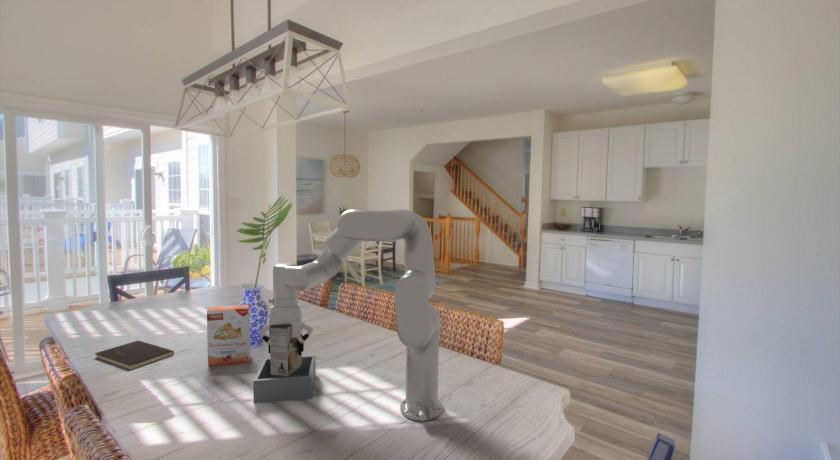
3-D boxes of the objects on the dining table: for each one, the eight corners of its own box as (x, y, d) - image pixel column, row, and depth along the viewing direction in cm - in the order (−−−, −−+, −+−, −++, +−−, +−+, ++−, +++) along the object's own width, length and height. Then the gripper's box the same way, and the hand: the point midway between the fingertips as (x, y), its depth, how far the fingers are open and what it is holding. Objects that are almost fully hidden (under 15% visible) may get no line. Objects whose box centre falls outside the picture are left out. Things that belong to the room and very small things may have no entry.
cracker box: (207, 366, 147) (205, 310, 145) (211, 360, 153) (209, 306, 151) (249, 362, 151) (247, 308, 149) (251, 356, 157) (249, 303, 155)
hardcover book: (129, 371, 143) (129, 365, 143) (95, 359, 154) (94, 353, 154) (174, 355, 158) (174, 349, 158) (139, 345, 168) (139, 339, 168)
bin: (311, 398, 125) (311, 377, 124) (253, 403, 122) (253, 380, 121) (315, 374, 142) (315, 355, 141) (264, 378, 138) (264, 358, 138)
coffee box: (284, 363, 136) (284, 316, 135) (302, 365, 135) (302, 318, 134) (269, 375, 127) (269, 325, 126) (288, 377, 126) (287, 327, 125)
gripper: (254, 305, 124) (255, 360, 125) (312, 304, 127) (313, 357, 129) (259, 299, 131) (260, 351, 133) (314, 297, 134) (314, 348, 136)
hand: (286, 354), depth 131 cm, fingers closed on coffee box, 8 cm apart
